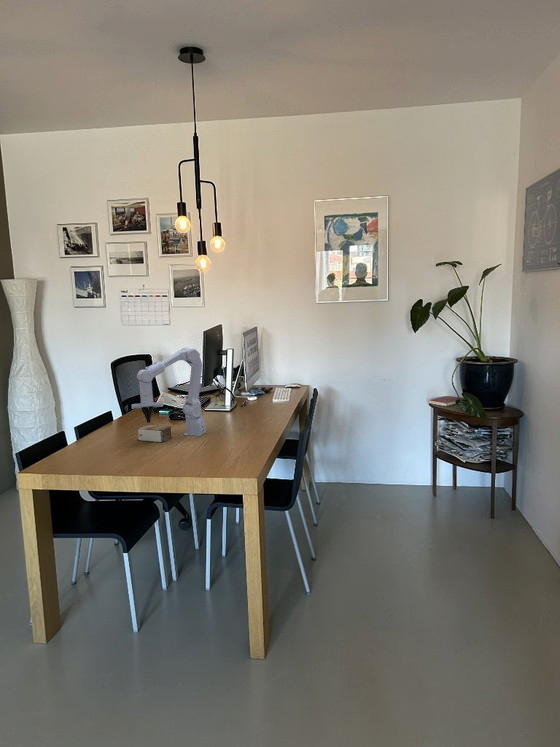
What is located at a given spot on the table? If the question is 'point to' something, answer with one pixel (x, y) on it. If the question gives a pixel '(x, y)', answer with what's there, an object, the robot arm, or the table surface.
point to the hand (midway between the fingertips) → (148, 422)
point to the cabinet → (164, 429)
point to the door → (150, 435)
